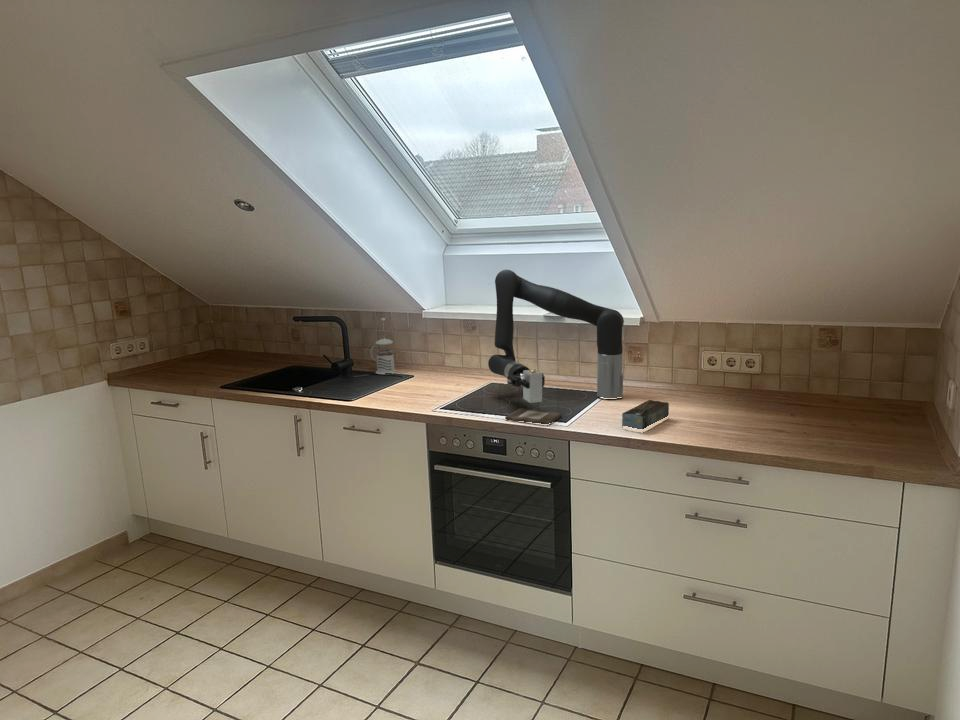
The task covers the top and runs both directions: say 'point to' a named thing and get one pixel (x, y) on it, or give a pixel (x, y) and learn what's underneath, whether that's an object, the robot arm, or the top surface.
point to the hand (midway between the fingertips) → (535, 384)
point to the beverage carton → (645, 414)
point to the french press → (385, 367)
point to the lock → (533, 386)
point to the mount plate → (533, 416)
